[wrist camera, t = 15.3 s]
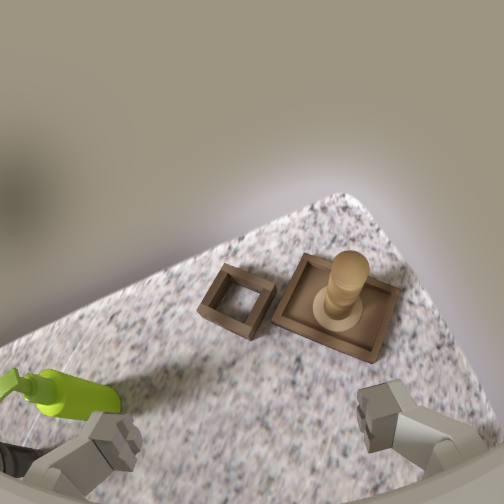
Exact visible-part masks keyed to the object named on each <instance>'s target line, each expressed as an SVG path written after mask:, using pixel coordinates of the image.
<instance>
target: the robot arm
mask: <svg viewBox="0 0 504 504" xmlns="http://www.w3.org/2000/svg"><path fill="white" fill-rule="evenodd" d="M357 399H358V402H359V405H358V406H357V421H358V425H359V428H360V431H361V432H363V433H364V442H365V445H366V448H367V451H368V453H373V452H377V451H381V450H385V449H389V448H392V449H393V450H395V451H396V452H398V453H399V454H401V455H402V456H403V457H405V458H406V459H408V460H409V461H411V462H412V463H414V464H415V465H417V466H418V467H420V468H421V469H423V470H424V471H425V472H424V475H423V477H422V480H421V481H418V482H415V483H413V484H410V485H407V486H404V487H401V488H398V489H395V490H392V491H388V492H385V493H382V494H378V495H375V496H371V497H367V498H364V499H360V500H356V501H351V502H347V503H342V504H504V441H503V442H501V443H500V444H498V445H496V446H494V447H493V448H491V449H488V447H487V446H486V444H485V443H484V441H483V440H482V438H481V437H480V435H479V434H478V432H477V431H476V430H475V428H474V427H472V426H470V425H467V424H465V423H462V422H460V421H457V420H455V419H452V418H450V417H447V416H445V415H442V414H440V413H438V412H435V411H433V410H430V409H428V408H426V407H423V406H418V407H417V405H416V404H415V402H414V400H413V399H412V397H411V396H410V394H409V392H408V391H407V389H406V387H405V386H404V384H403V383H402V381H401V380H400V379H396V380H392V381H389V382H385V383H382V384H379V385H375V386H371V387H367V388H363V389H359V390H358V392H357ZM133 422H134V420H133V418H132V416H131V415H130V414H128V413H117V412H101V411H94V412H92V414H91V416H90V417H89V419H88V421H87V422H86V424H85V426H84V427H83V429H82V431H81V433H80V434H79V436H78V437H74V438H72V439H71V440H69V441H67V442H66V443H64V444H62V445H61V446H59V447H57V448H56V449H54V450H52V451H51V452H49V453H47V454H46V455H44V456H42V457H40V458H39V459H37V460H35V461H34V462H33V463H32V465H31V467H30V468H29V470H28V471H27V473H26V475H25V476H24V478H23V480H19V479H17V478H14V477H12V476H9V475H7V474H5V473H3V472H0V504H98V503H93V502H89V501H88V500H87V499H86V498H85V497H86V496H87V495H88V494H89V493H90V492H91V491H92V490H93V489H95V488H96V487H97V486H98V485H99V484H100V483H101V482H102V481H103V480H105V479H106V478H107V477H108V476H109V475H110V474H111V473H112V472H113V470H117V471H127V472H133V470H134V467H135V464H136V461H137V458H136V456H135V455H136V454H137V453H138V452H140V450H141V447H142V436H141V433H140V431H139V429H138V428H137V427H135V426H134V425H133Z"/></svg>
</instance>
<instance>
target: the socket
mask: <svg viewBox="0 0 504 504" xmlns="http://www.w3.org/2000/svg"><path fill="white" fill-rule="evenodd" d="M231 282H234V283H236V284H239V285H241V286H243V287H245V288H248V289H250V290H252V291H255V292H257V293H260V295H259V297H258V299H257V301H256V303H255V305H254V306H253V308H252V310H251V312H250V314H249V316H248V318H247V320H246V321H245V323H244V324H243V323H241V322H239V321H237V320H235V319H233V318H231V317H228V316H226V315H224V314H222V313H220V312H218V311H216V308H217V306H218V305H219V303H220V301H221V299H222V298H223V296H224V294H225V292H226V291H227V289H228V287H229V285H230V284H231ZM275 294H276V285H275V283H272V282H270V281H267V280H265V279H263V278H260V277H258V276H255V275H253V274H250V273H248V272H246V271H243V270H241V269H238V268H236V267H233V266H231V265H229V264H226V263H224V265H223V266H222V268H221V270H220V271H219V273H218V275H217V276H216V278H215V280H214V281H213V283H212V285H211V287H210V288H209V290H208V292H207V293H206V295H205V297H204V298H203V300H202V302H201V304H200V305H199V307H198V309H197V310H196V311H197V312H198V313H199V314H200V315H201V316H202V317H203V318H205V319H207V320H209V321H211V322H213V323H215V324H217V325H219V326H221V327H223V328H225V329H227V330H229V331H231V332H233V333H235V334H237V335H239V336H241V337H244V338H246V339H248V340H250V341H251V340H252V339H253V337H254V335H255V333H256V331H257V329H258V327H259V325H260V323H261V321H262V319H263V317H264V316H265V314H266V312H267V310H268V308H269V306H270V304H271V302H272V300H273V298H274V296H275Z"/></svg>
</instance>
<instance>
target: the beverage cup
mask: <svg viewBox="0 0 504 504" xmlns="http://www.w3.org/2000/svg"><path fill="white" fill-rule="evenodd" d="M44 455H45V454H44V453H43V452H42V451H40V450H36V449H32V448H27V447H22V446H16V445H12V444H7V443H2V442H0V472H3V473H5V474H7V475H9V476H12V477H14V478H20V477H24V476H25V475H26V473H27V471H28V470H29V468H30V467H31V465H32V463H33V462H34V461H35V460H37V459H39V458H40V457H42V456H44Z"/></svg>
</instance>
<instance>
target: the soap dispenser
mask: <svg viewBox="0 0 504 504" xmlns="http://www.w3.org/2000/svg"><path fill="white" fill-rule="evenodd" d="M13 391H17V392H21V394H22V396H23V398H24V399H25V400H26V401H28V402H32V403H36V405H37V407H38V409H39V410H40V411H41V412H42V413H43V414H45V415H47V416H52V417H59V418H66V419H74V420H83V421H88V419H89V417H90V416H91V414H92V412H94V411H101V412H117V413H120V410H121V401H120V398H119V395H118V394H117V392H116V391H115V390H114V389H113V388H111V387H109V386H105V385H102V384H98V383H95V382H91V381H88V380H84V379H81V378H78V377H74V376H71V375H68V374H65V373H62V372H59V371H56V370H53V369H46V370H43V371H42V372H41V373H39V375H36V374H33V373H27V374H25V375H24V376H23V378H22V377H19V373H18V370H17V369H16V368H12V369H11V370H10V371H8V372H7V373H6V374H4V375H3V376H2V377H1V378H0V403H1V401H2V400H3V399H4V398H5V397H6V396H7V395H9V394H10V393H11V392H13Z"/></svg>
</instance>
